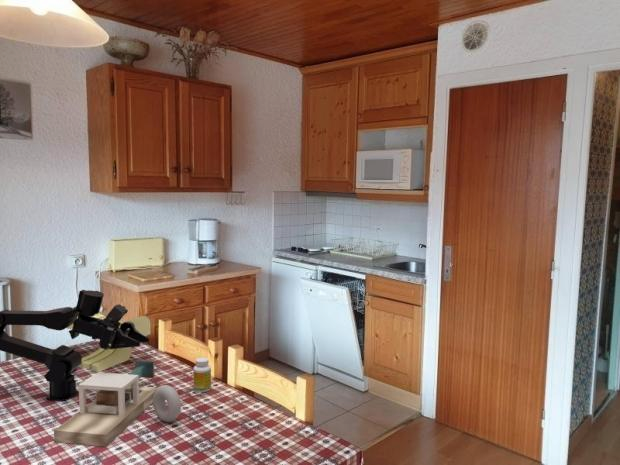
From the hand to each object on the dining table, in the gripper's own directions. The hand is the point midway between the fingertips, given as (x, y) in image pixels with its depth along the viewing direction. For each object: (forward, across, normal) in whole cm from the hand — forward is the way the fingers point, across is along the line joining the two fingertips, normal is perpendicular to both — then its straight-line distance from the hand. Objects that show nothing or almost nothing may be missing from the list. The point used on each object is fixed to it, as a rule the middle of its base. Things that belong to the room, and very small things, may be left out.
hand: (144, 342), depth 148 cm
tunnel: (-1, -11, +17) cm, 20 cm away
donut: (+15, -12, +16) cm, 25 cm away
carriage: (0, -2, +15) cm, 15 cm away
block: (-1, -10, +17) cm, 20 cm away
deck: (0, -10, +20) cm, 23 cm away
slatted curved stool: (-20, +34, +18) cm, 43 cm away
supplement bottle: (+20, +9, +11) cm, 24 cm away
